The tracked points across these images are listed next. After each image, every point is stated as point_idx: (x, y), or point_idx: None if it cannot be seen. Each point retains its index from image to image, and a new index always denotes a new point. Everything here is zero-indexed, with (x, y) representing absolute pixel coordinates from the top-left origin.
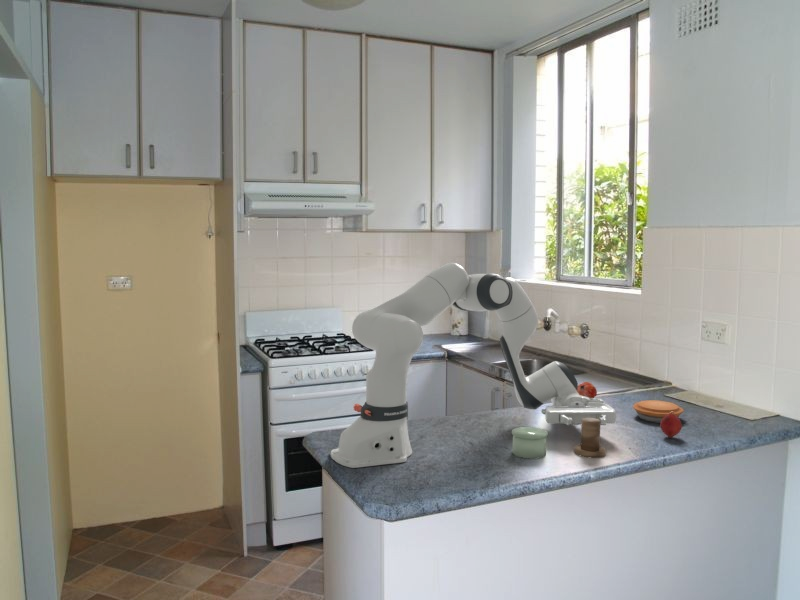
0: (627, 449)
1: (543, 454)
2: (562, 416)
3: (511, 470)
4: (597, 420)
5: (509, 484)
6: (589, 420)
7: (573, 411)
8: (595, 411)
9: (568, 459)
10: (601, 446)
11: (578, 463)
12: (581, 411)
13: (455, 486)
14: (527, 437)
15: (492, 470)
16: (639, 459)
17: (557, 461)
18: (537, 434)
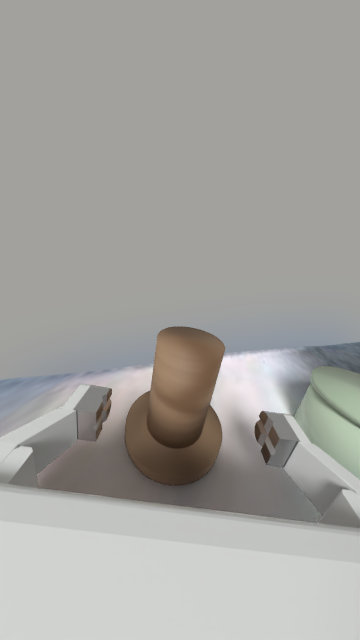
0: None
1: (296, 411)
2: (351, 475)
3: None
4: (167, 336)
5: (296, 348)
6: (196, 341)
7: (303, 539)
8: (32, 506)
9: (234, 396)
10: (127, 434)
11: None
12: (208, 528)
13: (347, 354)
14: (347, 371)
15: None
16: (76, 373)
17: (256, 390)
18: (337, 379)
